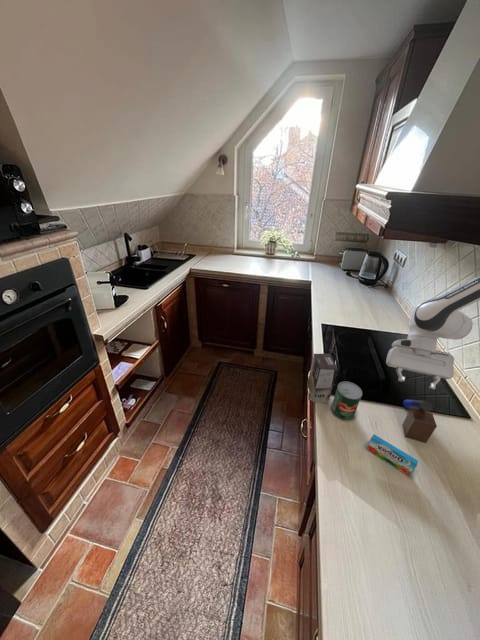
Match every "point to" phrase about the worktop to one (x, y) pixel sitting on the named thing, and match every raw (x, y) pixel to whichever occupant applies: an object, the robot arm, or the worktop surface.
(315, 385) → the coffee box
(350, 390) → the canned tomato
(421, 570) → the worktop surface
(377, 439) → the yogurt
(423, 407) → the dark blue flat piece
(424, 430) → the walnut block
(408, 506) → the worktop surface
